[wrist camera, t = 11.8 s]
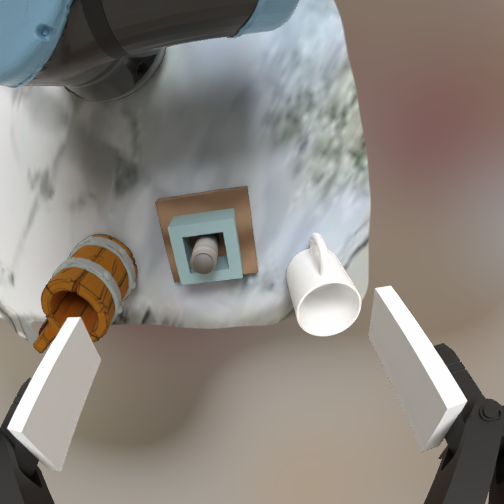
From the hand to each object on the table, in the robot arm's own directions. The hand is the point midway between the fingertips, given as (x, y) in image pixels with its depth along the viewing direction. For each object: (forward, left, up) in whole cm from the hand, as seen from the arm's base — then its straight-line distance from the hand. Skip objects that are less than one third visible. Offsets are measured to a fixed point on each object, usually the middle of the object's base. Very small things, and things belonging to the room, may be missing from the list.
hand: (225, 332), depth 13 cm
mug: (+11, -23, -31) cm, 40 cm away
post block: (+7, -4, -30) cm, 31 cm away
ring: (+8, -4, -29) cm, 30 cm away
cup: (+13, +10, -31) cm, 35 cm away
